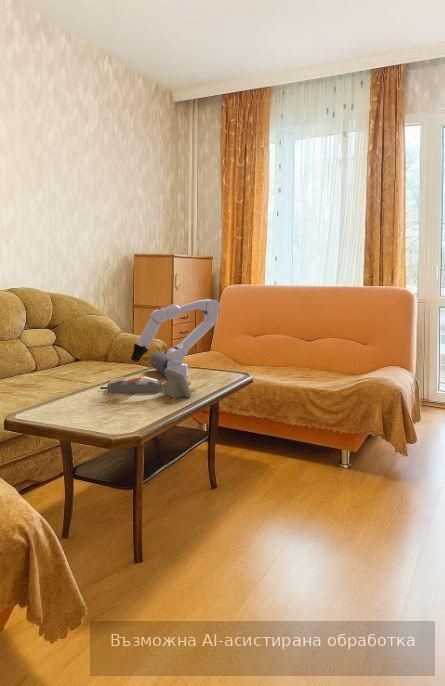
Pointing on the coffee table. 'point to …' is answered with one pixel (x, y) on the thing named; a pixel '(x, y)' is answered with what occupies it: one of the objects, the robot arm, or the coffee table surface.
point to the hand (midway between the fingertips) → (134, 360)
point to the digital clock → (176, 384)
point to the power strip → (134, 387)
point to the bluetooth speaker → (159, 362)
